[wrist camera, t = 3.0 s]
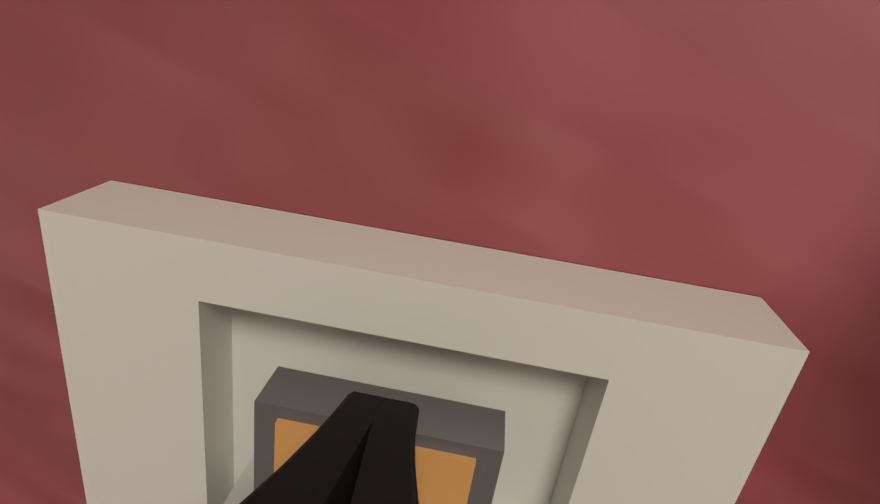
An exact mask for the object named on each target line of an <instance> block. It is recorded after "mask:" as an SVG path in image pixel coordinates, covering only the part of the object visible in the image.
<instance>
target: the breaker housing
mask: <svg viewBox="0 0 880 504" xmlns="http://www.w3.org/2000/svg"><path fill="white" fill-rule="evenodd" d="M38 213H39V219H40V225H41V231H42V237H43V243H44V249H45V255H46V261H47V267H48V273H49V279H50V285H51V291H52V297H53V303H54V309H55V315H56V321H57V327H58V333H59V339H60V345H61V351H62V357H63V363H64V369H65V375H66V381H67V387H68V393H69V399H70V405H71V411H72V417H73V423H74V429H75V435H76V441H77V447H78V453H79V459H80V465H81V471H82V477H83V483H84V489H85V495H86V501H87V504H239V503H240V502H242V501H243V500H244V499H245V498H246V497H247V496H248V495H250V494H251V493H252V492H253V491H254V401H255V399H256V398H257V396H258V395H259V393H260V392H261V390H262V389H263V388H264V386H265V385H266V383H267V382H268V380H269V379H270V377H271V376H272V375H273V373H274V372H275V370H276V369H277V367H278V366H280V367H285V368H290V369H295V370H300V371H305V372H310V373H315V374H320V375H325V376H330V377H336V378H341V379H346V380H351V381H356V382H361V383H366V384H371V385H376V386H381V387H386V388H391V389H396V390H401V391H406V392H411V393H416V394H421V395H427V396H432V397H437V398H442V399H447V400H452V401H457V402H462V403H467V404H472V405H477V406H482V407H487V408H492V409H497V410H502V411H505V446H504V455H503V459H502V463H501V467H500V471H499V476H498V480H497V484H496V488H495V492H494V496H493V500H492V504H735V502H736V500H737V498H738V496H739V494H740V492H741V490H742V488H743V486H744V484H745V482H746V480H747V478H748V476H749V474H750V472H751V470H752V468H753V466H754V464H755V461H756V459H757V457H758V455H759V453H760V451H761V449H762V447H763V445H764V443H765V441H766V439H767V437H768V435H769V433H770V431H771V429H772V427H773V425H774V423H775V421H776V419H777V417H778V415H779V413H780V411H781V409H782V407H783V405H784V403H785V401H786V399H787V397H788V395H789V393H790V391H791V389H792V387H793V385H794V383H795V381H796V379H797V377H798V375H799V373H800V371H801V369H802V367H803V365H804V362H805V360H806V358H807V356H808V354H809V351H808V350H807V348H806V347H805V346H804V345H803V344H802V343H801V342H800V341H799V339H798V338H797V337H796V336H795V335H794V334H793V333H792V332H791V331H790V329H789V328H788V327H787V326H786V325H785V324H784V323H783V322H782V320H781V319H780V318H779V317H778V316H777V315H776V314H775V313H774V311H773V310H772V309H771V308H770V307H769V306H768V305H767V304H766V302H765V301H764V300H763V299H762V298H761V297H756V296H750V295H745V294H739V293H734V292H728V291H723V290H717V289H712V288H706V287H700V286H695V285H689V284H684V283H678V282H673V281H667V280H662V279H656V278H650V277H645V276H639V275H634V274H628V273H623V272H617V271H612V270H606V269H601V268H595V267H589V266H584V265H578V264H573V263H567V262H562V261H556V260H551V259H545V258H539V257H534V256H528V255H523V254H517V253H512V252H506V251H501V250H495V249H489V248H484V247H478V246H473V245H467V244H462V243H456V242H451V241H445V240H439V239H434V238H428V237H423V236H417V235H412V234H406V233H401V232H395V231H390V230H384V229H378V228H373V227H367V226H362V225H356V224H351V223H345V222H340V221H334V220H328V219H323V218H317V217H312V216H306V215H301V214H295V213H290V212H284V211H278V210H273V209H267V208H262V207H256V206H251V205H245V204H240V203H234V202H228V201H223V200H217V199H212V198H206V197H201V196H195V195H190V194H184V193H179V192H173V191H167V190H162V189H156V188H151V187H145V186H140V185H134V184H129V183H123V182H117V181H112V180H111V181H108V182H106V183H103V184H101V185H98V186H96V187H93V188H91V189H88V190H86V191H83V192H80V193H78V194H75V195H73V196H70V197H68V198H65V199H63V200H60V201H58V202H55V203H52V204H50V205H47V206H45V207H42V208H40V209H38Z"/></svg>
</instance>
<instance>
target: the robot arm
mask: <svg viewBox="0 0 880 504" xmlns="http://www.w3.org/2000/svg"><path fill="white" fill-rule="evenodd" d="M418 416H419V408H418V407H417V406H416V404H414V403H410V402H405V401H400V400H395V399H390V398H385V397H380V396H375V395H370V394H365V393H360V392H356V391H353V392H352V393H350V394H348V395H347V396H346V398H345V399H344V400H343V401H342V403H341V404H340V405H339V406H338V407H337V408H336V410H335V411H334V412H333V413H332V414H331V415H330V416H329V418H328V419H327V420H326V421H325V422H324V423H323V424H322V425H321V426H320V427H319V428H318V430H317V431H316V432H315V433H314V434H313V435H312V436H311V437H310V438H309V439H308V440H307V441H306V442H305V443H304V444H303V445H302V446H301V447H300V448H299V449H298V450H297V451H296V452H295V453H294V454H293V455H292V456H291V457H290V458H289V459H288V460H287V461H286V462H285V463H284V464H283V465H282V466H281V467H280V468H279V469H277V470H276V471H275V472H274V473H273V474H272V475H271V476H270V477H269V478H268V479H266V480H265V481H264V482H263V483H262V484H261V485H260V486H259V487H257V488H256V489H255V490H254V491H253V492H252V493H251V494H250V495H248V496H247V497H246V498H245V499H244V500H243V501H242V502H240V503H239V504H419V501H418V490H417V479H416V465H415V436H416V430H417V423H418Z"/></svg>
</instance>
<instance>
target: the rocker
mask: <svg viewBox="0 0 880 504" xmlns="http://www.w3.org/2000/svg"><path fill="white" fill-rule="evenodd" d="M353 391H356V392H360V393H365V394H370V395H375V396H380V397H385V398H390V399H395V400H400V401H405V402H410V403H414V404H416V406H417V407H418V408H419V416H418V423H417V430H416V436H415V465H416V479H417V490H418V501H419V504H492V500H493V496H494V492H495V488H496V484H497V480H498V476H499V471H500V467H501V463H502V459H503V455H504V446H505V411H502V410H497V409H492V408H487V407H482V406H477V405H472V404H467V403H462V402H457V401H452V400H447V399H442V398H437V397H432V396H427V395H421V394H416V393H411V392H406V391H401V390H396V389H391V388H386V387H381V386H376V385H371V384H366V383H361V382H356V381H351V380H346V379H341V378H336V377H330V376H325V375H320V374H315V373H310V372H305V371H300V370H295V369H290V368H285V367H280V366H278V367H277V369H276V370H275V372H274V373H273V375H272V376H271V377H270V379H269V380H268V382H267V383H266V385H265V386H264V388H263V389H262V390H261V392H260V393H259V395H258V396H257V398H256V399H255V401H254V490H255V489H256V488H257V487H259V486H260V485H261V484H262V483H263V482H264V481H265V480H266V479H268V478H269V477H270V476H271V475H272V474H273V473H274V472H275V471H276V470H277V469H279V468H280V467H281V466H282V465H283V464H284V463H285V462H286V461H287V460H288V459H289V458H290V457H291V456H292V455H293V454H294V453H295V452H296V451H297V450H298V449H299V448H300V447H301V446H302V445H303V444H304V443H305V442H306V441H307V440H308V439H309V438H310V437H311V436H312V435H313V434H314V433H315V432H316V431H317V430H318V428H319V427H320V426H321V425H322V424H323V423H324V422H325V421H326V420H327V419H328V418H329V416H330V415H331V414H332V413H333V412H334V411H335V410H336V408H337V407H338V406H339V405H340V404H341V403H342V401H343V400H344V399H345V398H346V396H347V395H348V394H350V393H352V392H353Z"/></svg>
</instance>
